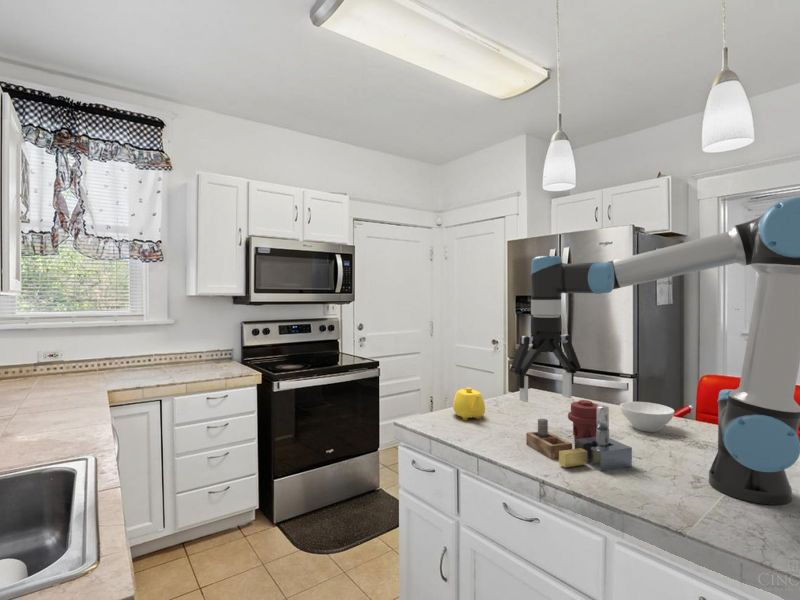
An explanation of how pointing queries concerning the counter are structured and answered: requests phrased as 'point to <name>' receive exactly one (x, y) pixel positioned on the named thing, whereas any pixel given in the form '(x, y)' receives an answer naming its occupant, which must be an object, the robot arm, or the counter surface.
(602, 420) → the grey cylindrical peg
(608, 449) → the socket block
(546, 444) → the frame
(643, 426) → the bowl
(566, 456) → the bar
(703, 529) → the counter surface
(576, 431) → the mechanical component
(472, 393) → the teapot
